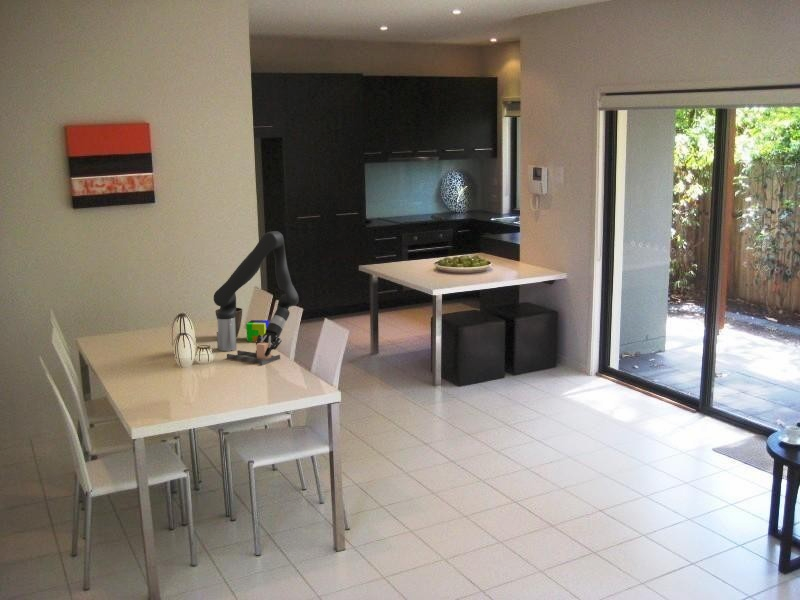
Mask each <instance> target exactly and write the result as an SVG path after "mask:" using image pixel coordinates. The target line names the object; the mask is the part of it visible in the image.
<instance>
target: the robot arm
mask: <svg viewBox="0 0 800 600" xmlns="http://www.w3.org/2000/svg"><path fill="white" fill-rule="evenodd" d="M271 252H273V256H274V262H275V264H274V265H275V267H274V268H275V269H274V270H275V272H274V273H275V278H276V283H277V286H278V288H279V289H280V290H282V291H283V292H284V293H283V294H282V295H280V297H279V300H278V302H277V306H276V309H275V312H274V313H273V316H272V317H271V318H270V320H269V324H268V326H267V328H266V331H265V334H264V335H263V336H260V335H258V338H257V342H255V345H256V344H258V343H261V342H268V343H269V346H268V348H267V350H266V352H265V356H268V355H269V354H270V352H271V353H272V351H273V350H276V349H277V348H278V347H279V346H280V345H281V343H282V339H281V338H280V335H281V334H282V332H283V330H284V328H285V326H286V323H287V321H288V319H289V317H290V310H289V309H290V307H294V306H297V305H298V304H299V301H300V299H299V293H298V292H297V290H296V288H295V286H294V284H293V282H292V278H291V276H290V271H289V266H288V262H287V256H286V247H285V239H284V235H283V234H282V233H281V232H280V231H276V230H274V231H267V232H266V233H263V235H262V236H261V237H260V240H259V241H258V243H257V244H256V245H255V246H254V248H253V250H251V252H250V253H249V254H248V255H247V256H246V257H245V258H244V259H243V260H242V261H241V263H240V264H239V265H238V266H237V267H236V269H235V270H234V271H233V272H232V273H231V275H230V277H228V279H227V280H226V281H225V283H224V284H222V285H221V286H220V287H219V288H217V290H216V291H215V292H214V294H213V301H214V302H213V303H214V304H215V305H216V306H219V309H220V310H219V312H218V313H217V317H216V320H218V321H217V331H216V342H217V343H216V344H217V350H219V351H221V352H231V350H232V351H235V350H237V349H238V347H237V338H236V325H235V313H236V308H237V296H236V292H237V291H238V290H239V289H240V288H242V287H244V286H245V285H246V284H247V283H248V282H249V281H251V279H252V278H253V277H254V276H255V275H256V274H257V273H258V272H259V270H260V268H261V266H262V263H263V261H264V260H265V258H266V257H267V256H268V255H269V254H270V253H271ZM255 353H256V354H257V349H255Z"/></svg>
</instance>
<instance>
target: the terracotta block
mask: <svg viewBox="0 0 800 600" xmlns="http://www.w3.org/2000/svg"><path fill="white" fill-rule="evenodd" d="M255 345H256V350H257V358H258V359H264V360H265V359H268V358H271V355H272V351H271V352H270V354H269V355H268V356H265V352H266V350H267V348H268V346H269V343H268V342H261V343H258V344H256V343H255Z"/></svg>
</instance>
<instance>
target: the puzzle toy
mask: <svg viewBox="0 0 800 600" xmlns="http://www.w3.org/2000/svg"><path fill="white" fill-rule="evenodd" d="M269 322H270V320H268V319H267V320H266V319H265V320H263V319H259V320H255V319H250V321H248V322H247V323H246V326H245V327H246V328H245V329H246V341H257V338H258V335H260V336H263V335H264V334H265V331H266V328H267V326H268V324H269Z"/></svg>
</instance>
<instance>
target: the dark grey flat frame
mask: <svg viewBox="0 0 800 600" xmlns="http://www.w3.org/2000/svg"><path fill="white" fill-rule="evenodd" d="M236 353H237V354H233V353H226V358H224V360H226V361H232V362H239V363H244V364H250V365H255V366H256V365H257V366H264V365H268V364H270V363H272V362H276V361H278V360H281V354H277V355H272V354H271V358H268V359H265V360H264V359H258V358H257V354H256V352H251V351H245V350H237V352H236Z"/></svg>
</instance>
